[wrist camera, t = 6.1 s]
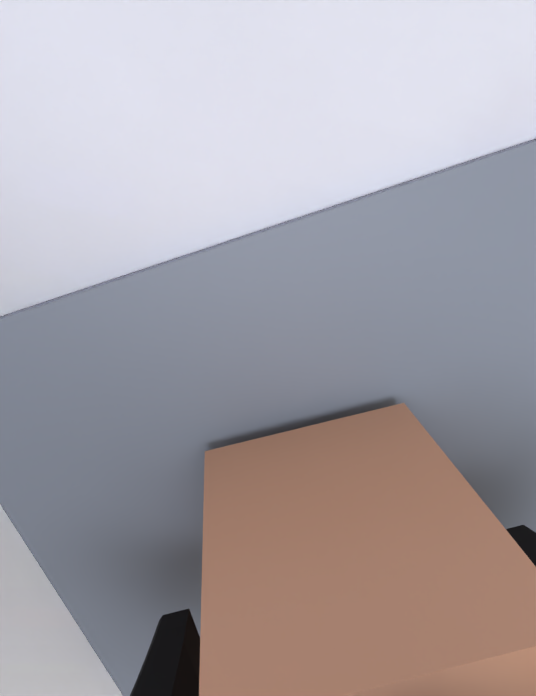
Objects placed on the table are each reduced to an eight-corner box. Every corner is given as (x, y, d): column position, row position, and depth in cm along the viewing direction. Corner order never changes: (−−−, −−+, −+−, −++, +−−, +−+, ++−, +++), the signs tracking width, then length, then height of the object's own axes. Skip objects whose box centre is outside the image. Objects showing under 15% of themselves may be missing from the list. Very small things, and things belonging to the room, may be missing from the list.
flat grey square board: (163, 743, 18) (134, 1086, 11) (-88, 345, 12) (-463, 575, 5) (592, 604, 17) (820, 868, 11) (555, 132, 12) (996, 93, 5)
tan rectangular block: (250, 600, 14) (279, 929, 8) (204, 451, 12) (198, 732, 6) (423, 556, 14) (579, 847, 8) (403, 403, 13) (589, 632, 6)
